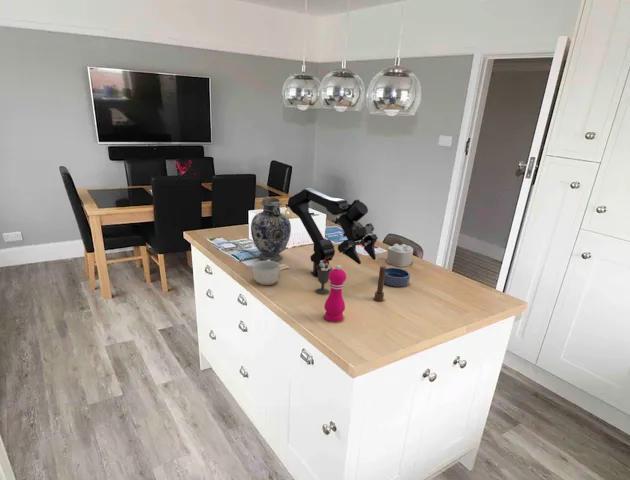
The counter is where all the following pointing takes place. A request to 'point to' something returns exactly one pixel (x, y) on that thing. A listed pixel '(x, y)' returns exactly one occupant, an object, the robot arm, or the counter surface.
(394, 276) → the bowl
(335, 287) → the pepper mill
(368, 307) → the counter surface
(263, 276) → the teacup
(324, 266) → the sundae
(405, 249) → the lumpy-topped squat cylinder
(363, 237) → the robot arm
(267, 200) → the decorative vase
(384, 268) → the stirring stick
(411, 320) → the counter surface
